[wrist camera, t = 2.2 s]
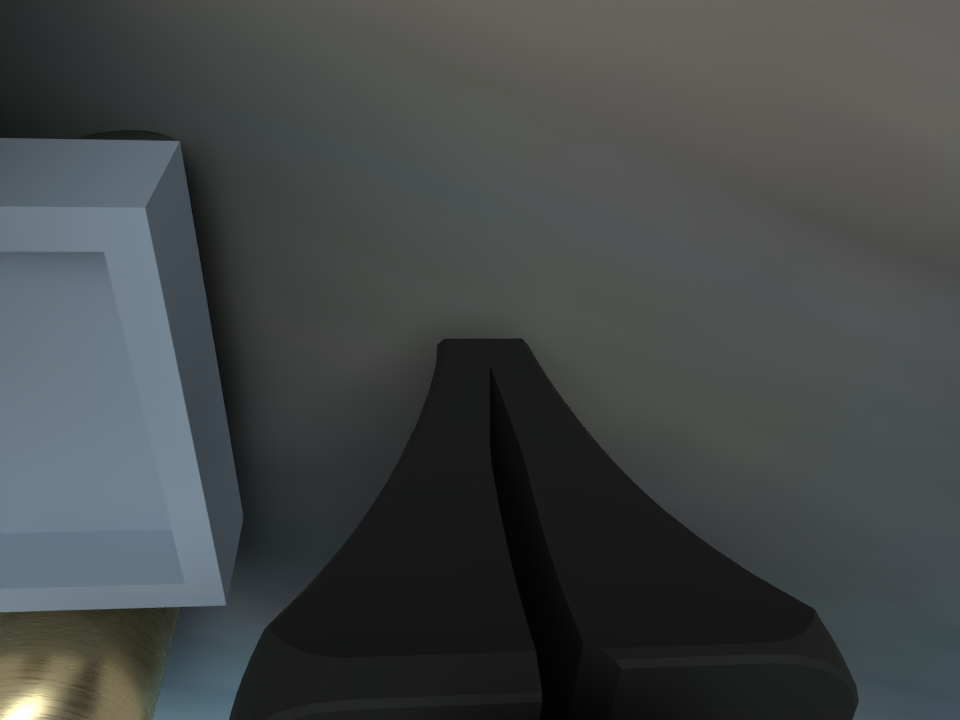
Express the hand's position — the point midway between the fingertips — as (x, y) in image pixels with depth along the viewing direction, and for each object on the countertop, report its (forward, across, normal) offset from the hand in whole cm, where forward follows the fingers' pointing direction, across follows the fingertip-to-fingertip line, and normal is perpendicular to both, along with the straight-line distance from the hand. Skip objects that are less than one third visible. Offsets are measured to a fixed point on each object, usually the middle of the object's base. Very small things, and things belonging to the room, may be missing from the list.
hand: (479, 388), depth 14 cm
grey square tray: (+3, +8, 0) cm, 8 cm away
